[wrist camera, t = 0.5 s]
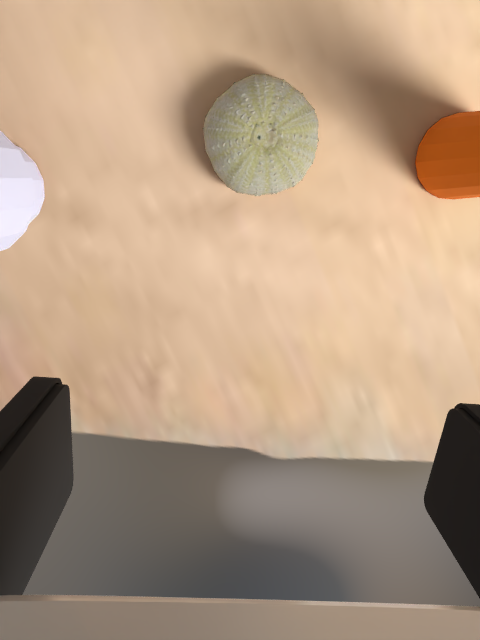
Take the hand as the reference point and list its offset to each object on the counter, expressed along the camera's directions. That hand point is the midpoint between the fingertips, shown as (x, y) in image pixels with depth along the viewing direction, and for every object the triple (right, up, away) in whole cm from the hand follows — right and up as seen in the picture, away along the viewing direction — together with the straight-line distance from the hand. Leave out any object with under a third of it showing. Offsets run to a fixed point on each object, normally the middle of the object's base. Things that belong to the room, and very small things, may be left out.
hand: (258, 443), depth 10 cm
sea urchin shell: (+1, +19, +26) cm, 32 cm away
